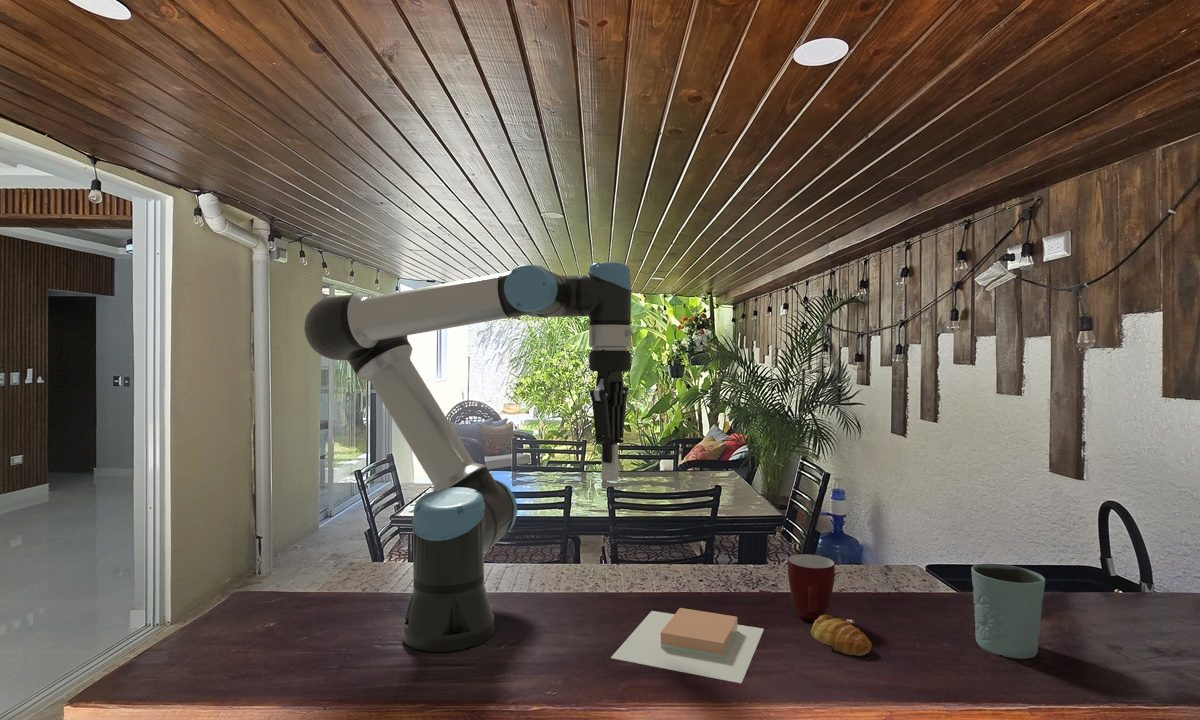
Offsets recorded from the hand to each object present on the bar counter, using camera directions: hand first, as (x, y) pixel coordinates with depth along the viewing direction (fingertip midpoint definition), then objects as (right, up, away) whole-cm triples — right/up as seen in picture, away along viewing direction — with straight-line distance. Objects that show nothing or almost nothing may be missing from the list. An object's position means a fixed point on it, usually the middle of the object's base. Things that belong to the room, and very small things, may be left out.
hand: (609, 479), depth 120 cm
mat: (+13, -25, -13) cm, 31 cm away
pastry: (+37, -25, -11) cm, 46 cm away
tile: (+12, -23, -16) cm, 31 cm away
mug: (+36, -25, -2) cm, 44 cm away
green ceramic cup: (+64, -25, -13) cm, 70 cm away
